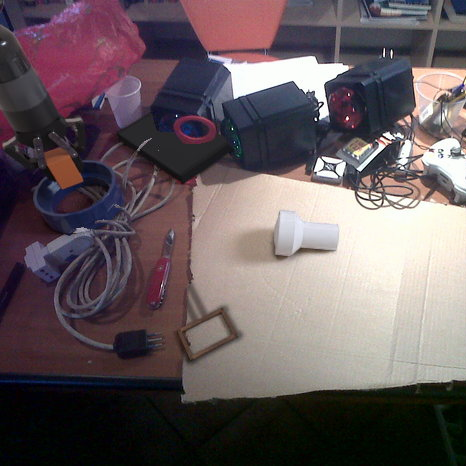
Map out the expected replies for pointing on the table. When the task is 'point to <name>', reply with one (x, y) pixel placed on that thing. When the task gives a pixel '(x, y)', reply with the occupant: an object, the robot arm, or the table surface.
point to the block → (62, 168)
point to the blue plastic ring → (92, 174)
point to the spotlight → (302, 234)
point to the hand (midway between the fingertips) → (67, 174)
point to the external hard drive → (172, 149)
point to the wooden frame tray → (214, 346)
